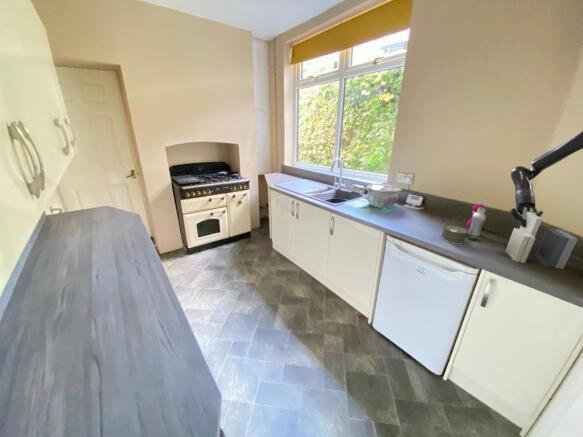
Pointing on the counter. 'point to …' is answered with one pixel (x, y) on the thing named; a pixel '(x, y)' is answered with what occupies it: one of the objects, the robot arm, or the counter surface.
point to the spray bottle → (475, 211)
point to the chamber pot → (381, 195)
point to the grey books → (555, 248)
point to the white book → (531, 223)
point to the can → (454, 233)
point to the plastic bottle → (477, 223)
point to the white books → (519, 245)
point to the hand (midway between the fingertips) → (527, 227)
